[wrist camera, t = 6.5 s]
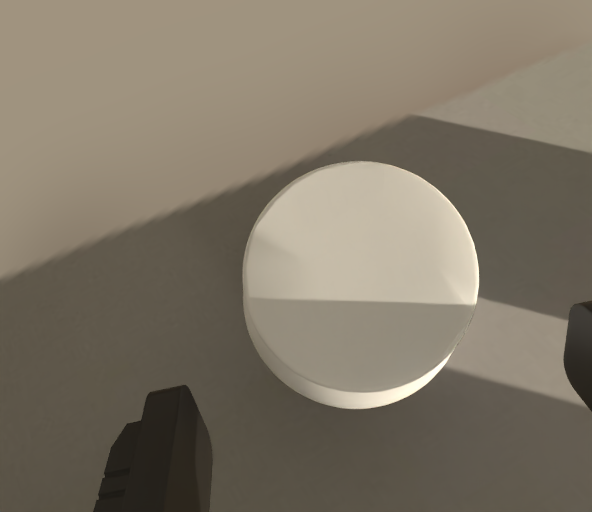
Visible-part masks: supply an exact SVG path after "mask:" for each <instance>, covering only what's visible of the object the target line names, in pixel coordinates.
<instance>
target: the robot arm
mask: <svg viewBox="0 0 592 512" xmlns="http://www.w3.org/2000/svg"><path fill="white" fill-rule="evenodd" d="M564 367H565V371H566V374H567V377H568V379H569V381H570V383H571V385H572V387H573V388H574V390H575V391H576V392H577V394H578V395H579V396H580V397H581V399H582V400H583V401H584V403H585V404H586V405H587V406H588V408H589V409H590V410H591V411H592V301H588V302H583V303H578V304H574V305H573V306H572V307H571V310H570V314H569V321H568V329H567V336H566V344H565V351H564ZM212 461H213V458H212V446H211V440H210V436H209V433H208V430H207V428H206V425H205V423H204V421H203V419H202V416H201V414H200V412H199V410H198V407H197V405H196V403H195V400H194V398H193V396H192V394H191V391H190V389H189V388H188V387H187V386H186V385H182V386H177V387H173V388H168V389H163V390H158V391H154V392H150V393H149V394H148V396H147V398H146V402H145V406H144V411H143V415H142V419H141V421H137V422H133V423H128V424H127V425H126V426H125V428H124V429H123V431H122V432H121V434H120V435H119V437H118V438H117V440H116V441H115V443H114V444H113V446H112V447H111V450H110V453H109V457H108V461H107V464H106V468H105V472H104V474H105V477H104V478H103V479H102V483H101V486H100V490H99V493H98V495H99V499H98V500H97V501H96V504H95V508H94V512H209V510H210V494H211V478H212Z"/></svg>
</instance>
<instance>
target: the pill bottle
mask: <svg viewBox="0 0 592 512" xmlns="http://www.w3.org/2000/svg"><path fill="white" fill-rule="evenodd" d="M242 283H243V306H244V315H245V320H246V325H247V328H248V332H249V334H250V337H251V339H252V342H253V344H254V346H255V348H256V350H257V352H258V354H259V355H260V357H261V358H262V360H263V361H264V363H265V364H266V365H267V367H268V368H269V369H270V370H271V371H272V372H273V373H274V374H275V375H276V376H277V377H278V378H279V379H280V380H281V381H282V382H283V383H285V384H286V385H287V386H288V387H290V388H291V389H293V390H294V391H296V392H297V393H299V394H301V395H303V396H305V397H307V398H309V399H311V400H313V401H316V402H319V403H322V404H325V405H329V406H334V407H338V408H346V409H366V408H374V407H379V406H383V405H387V404H390V403H393V402H396V401H398V400H401V399H403V398H405V397H407V396H409V395H411V394H413V393H414V392H416V391H417V390H419V389H420V388H422V387H423V386H424V385H426V384H427V383H428V382H429V381H430V380H431V379H432V378H433V377H434V376H435V375H436V374H437V373H438V372H439V371H440V370H441V368H442V367H443V366H444V365H445V363H446V362H447V360H448V359H449V357H450V355H451V354H452V352H453V350H454V349H455V348H456V346H457V345H458V343H459V342H460V340H461V339H462V337H463V336H464V334H465V332H466V330H467V328H468V326H469V324H470V321H471V319H472V316H473V313H474V310H475V307H476V302H477V296H478V289H479V268H478V260H477V254H476V251H475V246H474V242H473V240H472V238H471V235H470V233H469V230H468V228H467V226H466V224H465V222H464V221H463V219H462V217H461V216H460V214H459V213H458V211H457V210H456V208H455V207H454V206H453V204H452V203H451V202H450V201H449V200H448V199H447V198H446V197H445V196H444V195H443V194H442V193H441V192H440V191H439V190H438V189H436V188H435V187H434V186H432V185H431V184H430V183H428V182H427V181H426V180H424V179H422V178H420V177H419V176H417V175H415V174H413V173H411V172H409V171H407V170H404V169H401V168H399V167H396V166H392V165H389V164H384V163H378V162H372V161H349V162H340V163H335V164H331V165H328V166H324V167H320V168H318V169H315V170H313V171H310V172H308V173H306V174H305V175H303V176H301V177H299V178H297V179H295V180H294V181H292V182H291V183H290V184H288V185H287V186H286V187H284V188H283V189H282V190H281V191H280V192H279V193H278V194H277V195H276V196H275V197H274V198H273V199H272V200H271V201H270V202H269V203H268V204H267V206H266V207H265V208H264V210H263V211H262V213H261V214H260V216H259V217H258V219H257V221H256V223H255V225H254V227H253V229H252V231H251V233H250V236H249V239H248V241H247V245H246V249H245V253H244V260H243V271H242Z"/></svg>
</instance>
